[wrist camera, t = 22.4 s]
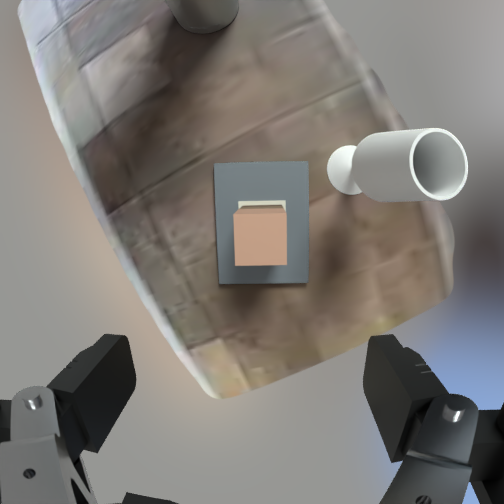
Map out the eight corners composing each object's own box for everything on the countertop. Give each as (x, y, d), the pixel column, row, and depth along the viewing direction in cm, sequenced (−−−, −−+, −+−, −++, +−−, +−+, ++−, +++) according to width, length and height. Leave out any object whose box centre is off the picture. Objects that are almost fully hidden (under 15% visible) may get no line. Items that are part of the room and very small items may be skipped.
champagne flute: (375, 148, 40) (479, 125, 17) (372, 197, 42) (474, 220, 18) (328, 142, 41) (396, 103, 17) (325, 192, 42) (391, 209, 19)
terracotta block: (238, 209, 36) (233, 214, 31) (283, 208, 36) (286, 213, 31) (239, 253, 37) (235, 265, 32) (284, 252, 37) (286, 265, 32)
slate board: (215, 164, 42) (213, 163, 40) (307, 161, 41) (308, 161, 40) (220, 281, 45) (219, 284, 44) (307, 279, 45) (308, 283, 43)
